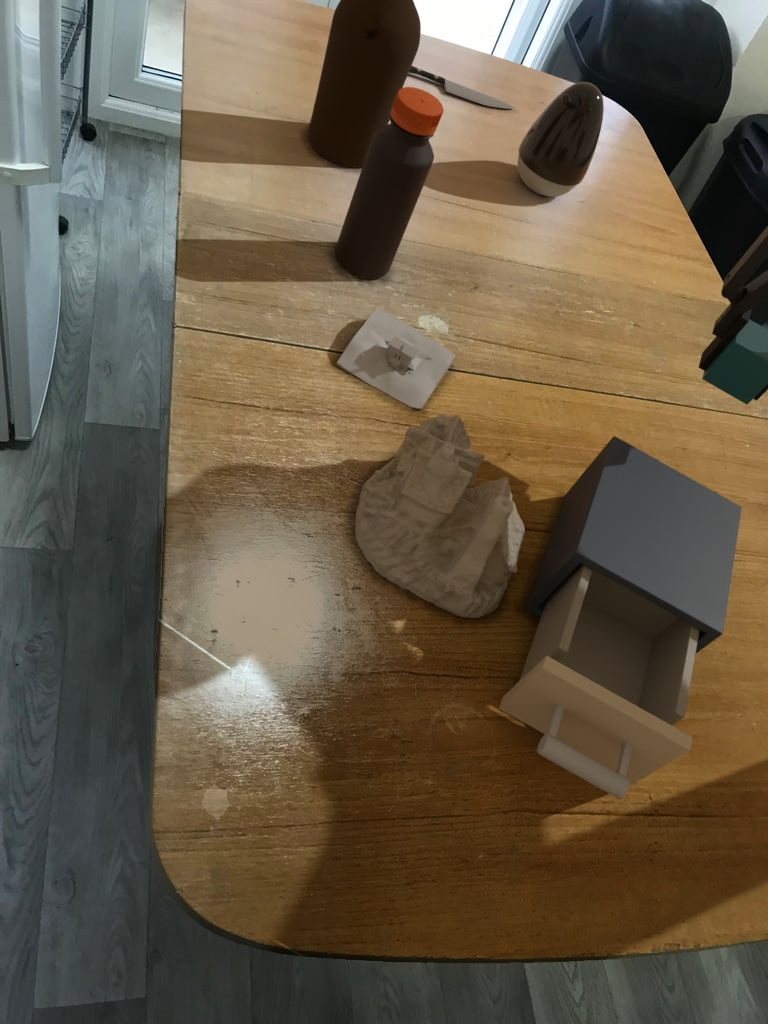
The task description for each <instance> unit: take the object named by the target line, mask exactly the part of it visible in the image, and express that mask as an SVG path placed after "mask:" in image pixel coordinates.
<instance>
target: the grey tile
mask: <svg viewBox="0 0 768 1024" xmlns="http://www.w3.org/2000/svg"><path fill="white" fill-rule="evenodd" d="M456 356H457V355H456V354H455V353H453V352H452V351H450V350H449V349H448V348H447V347H445V346H444V345H442V344H440V343H439V342H437V341H435V340H433V339H432V338H430V337H428V336H427V335H425V334H424V333H422V332H420V331H419V330H417V329H416V328H414V327H412V326H411V325H410V324H407V323H405V322H404V321H402V320H401V319H399V318H398V317H396V316H394V315H393V314H391V313H389V312H388V311H386V310H385V309H384V308H382V307H380V306H378V307H377V308H376V309H375V310H374V311H373V312H372V313H371V315H369V317H368V318H367V319H366V321H365V322H364V324H363V325H362V326H361V327H360V328H359V330H358V331H357V332H356V333H355V335H354V336H353V337H352V338H351V340H350V341H349V343H348V344H347V346H346V348H345V349H344V350H343V352H342V354H341V355H340V356H339V359H338V360H337V362H336V366H338V367H339V368H341V369H342V370H343V371H346V372H347V373H349V374H351V375H352V376H354V377H356V378H358V379H359V380H361V381H362V382H364V383H366V384H368V385H369V386H371V387H373V388H376V389H377V390H379V391H380V392H383V393H385V394H387V395H388V396H389V397H391V398H392V399H395V400H396V401H398V402H401V403H402V404H404V405H406V407H408V408H411V409H415V410H419V411H421V410H422V409H423V407H424V406H425V404H426V403H427V402H428V400H429V399H430V397H431V395H432V394H433V393H434V391H435V389H436V388H437V387H438V385H439V383H440V382H441V381H442V379H443V377H444V376H445V374H446V373H447V371H448V370H449V368H450V367H451V366H452V364H453V362H454V360H455V358H456Z"/></svg>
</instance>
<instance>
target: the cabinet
mask: <svg viewBox="0 0 768 1024" xmlns="http://www.w3.org/2000/svg"><path fill="white" fill-rule="evenodd" d="M597 454H598V455H597V456H596V457H595V458H594V459H593V461H592V462H591V463H590V464H589V465H588V466H587V468H586V469H585V470H584V471H583V473H582V474H581V475H580V476H579V478H578V479H576V481H575V482H574V483H573V485H572V486H571V487H570V488H569V490H568V491H567V492H566V493H565V495H564V496H563V500H562V502H561V505H560V508H559V511H558V513H557V516H556V519H555V521H554V524H553V528H552V530H551V533H550V535H549V538H548V541H547V543H546V547H545V549H544V551H543V555H542V558H541V560H540V562H539V566H538V568H537V572H536V574H535V576H534V578H533V579H534V580H533V583H532V585H531V588H530V591H529V594H528V596H527V599H526V602H525V604H524V606H523V607H524V608H523V610H525V611H527V612H529V613H531V614H532V615H534V616H536V617H538V618H540V619H541V616H542V613H543V610H544V607H545V604H546V602H547V599H548V596H549V595H550V594H551V593H552V592H553V591H554V590H555V589H556V588H557V587H558V586H559V585H560V584H561V582H562V581H563V580H564V579H565V578H566V577H567V576H568V575H569V574H570V573H571V572H572V571H573V570H574V569H575V568H576V567H577V566H578V564H579V563H582V564H584V565H586V566H587V567H589V568H591V569H593V570H595V571H596V572H598V573H600V574H602V575H604V576H605V577H607V578H609V579H611V580H613V581H614V582H616V583H618V584H620V585H621V586H623V587H625V588H627V589H629V590H630V591H632V592H634V593H636V594H638V595H639V596H641V597H643V598H645V599H647V600H648V601H650V602H652V603H654V604H655V605H657V606H659V607H661V608H663V609H664V610H666V611H668V612H670V613H672V614H673V615H675V616H677V617H679V618H681V619H682V620H684V621H686V622H688V623H689V624H691V625H693V626H695V627H697V628H698V629H700V630H699V636H698V642H697V648H696V653H695V655H697V654H698V653H699V652H700V651H702V650H703V649H705V648H706V647H707V646H709V645H710V644H711V643H712V642H714V641H715V640H716V639H718V638H719V637H721V636H722V635H723V634H724V629H725V622H726V615H727V609H728V602H729V596H730V589H731V581H732V576H733V568H734V562H735V556H736V548H737V544H738V543H737V542H738V536H739V529H740V523H741V515H742V509H743V507H742V506H741V505H739V504H738V503H736V502H734V501H732V500H730V499H728V498H727V497H725V496H723V495H721V494H719V493H717V492H716V491H714V490H712V489H710V488H709V487H707V486H705V485H704V484H702V483H700V482H698V481H696V480H694V479H692V478H691V477H689V476H687V475H686V474H684V473H682V472H680V471H678V470H677V469H675V468H673V467H671V466H670V465H667V464H665V463H664V462H662V461H661V460H658V459H657V458H655V457H653V456H652V455H649V454H648V453H646V452H644V451H642V450H641V449H639V448H637V447H635V446H633V445H632V444H631V443H628V442H627V441H625V440H623V439H621V438H619V437H617V436H616V435H613V436H612V437H611V438H610V440H609V441H608V442H607V444H606V445H605V446H604V447H603V448H602V450H601V451H600V452H599V453H597Z"/></svg>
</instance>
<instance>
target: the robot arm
mask: <svg viewBox="0 0 768 1024" xmlns="http://www.w3.org/2000/svg"><path fill="white" fill-rule="evenodd" d="M767 258H768V225H767V226H766V227H765V228H764V230H763V231H762V232H761V233H760V235H759V236H758V237H757V239H756V240H755V241H754V242H753V243H752V245H750V246H749V248H748V249H747V250H746V252H745V253H744V254H743V255H742V257H741V258H740V259H739V260H738V261H737V263H736V264H735V265H733V268H732V269H730V271H729V272H728V273H727V275H726V276H725V278H724V280H723V285H722V287H721V292H720V293H721V297H723V298H724V299H725V300H728V302H729V305H727V307H726V308H725V309H724V311H722V313H721V314H720V315H719V316H718V318H716V319H715V322H714V325H713V329H712V333H711V334H712V335H714V336H715V337H714V338H713V339H712V341H711V342H710V343H709V344H708V346H707V347H705V349H703V352H702V353H701V356H700V359H699V364H698V368H699V369H700V370H701V371H703V372H704V371H705V370H706V369H707V368H708V367H709V366H710V365H711V364H712V362H713V361H714V360H715V359H716V358H717V357H718V356H719V354H720V353H721V352H722V351H723V350H724V349H725V348H726V346H727V345H728V344H729V343H730V342H731V341H732V340H733V338H734V337H735V336H737V334H738V333H739V332H740V331H741V330H742V329H743V328H744V326H745V325H746V324H747V323H748V322H749V319H750V318H751V313H752V309H753V308H755V307H756V306H757V305H759V304H760V303H761V302H763V301H765V299H767V298H768V269H767V270H765V272H763V273H762V274H760V275H759V276H758V277H756V278H754V279H753V280H752V281H750V282H748V280H749V279H750V278H751V277H752V276H753V274H755V272H756V271H757V270H758V269H759V268H760V266H761V265H762V264H763V263H764V262H765V261H766V259H767ZM747 282H748V284H746V283H747ZM745 284H746V285H745ZM767 391H768V384H767V385H766V386H765V387H764V388H763V389H762V390H761V391H760V392H759V393H758V394H757V395H756V396H755V397H754V398H753V399H752V400H754V401H756V402H757V401H758V400H759V399H760V398H761V397H762V396H764V394H765V393H766V392H767Z"/></svg>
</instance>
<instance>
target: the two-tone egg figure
mask: <svg viewBox="0 0 768 1024" xmlns="http://www.w3.org/2000/svg"><path fill="white" fill-rule="evenodd" d="M604 111H605V110H604V98H603V94H602V92H601V91H600V89H599V88H598V87H597V86H596V85H595V84H593V83H591V82H587V81H578V82H576V83H573V84H572V85H570V86H568V87H567V88H566V89H563V91H561V92H560V93H559V94H558V95H556V97H555V98H554V99H553V100H552V101H551V102H550V103H549V104H548V105H547V107H545V108H544V110H543V111H542V112H541V113H540V115H538V117H537V118H536V119H535V121H534V122H533V123H532V125H531V126H530V128H529V129H528V130H527V132H526V134H525V135H524V137H523V138H522V140H521V142H520V144H519V147H518V156H517V171H518V174H519V177H520V179H521V180H522V182H523V183H524V184H525V186H527V188H528V189H530V190H531V191H533V192H534V193H536V194H539V195H541V196H544V197H549V198H555V197H561V196H563V195H566V194H568V193H569V192H570V191H572V190H573V189H575V187H576V186H577V185H579V184H580V183H582V182H583V180H584V179H585V177H586V175H587V173H588V171H589V168H590V166H591V164H592V162H593V161H592V160H593V158H594V156H595V152H596V149H597V145H598V142H599V139H600V135H601V130H602V127H603V126H602V125H603V120H604Z"/></svg>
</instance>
